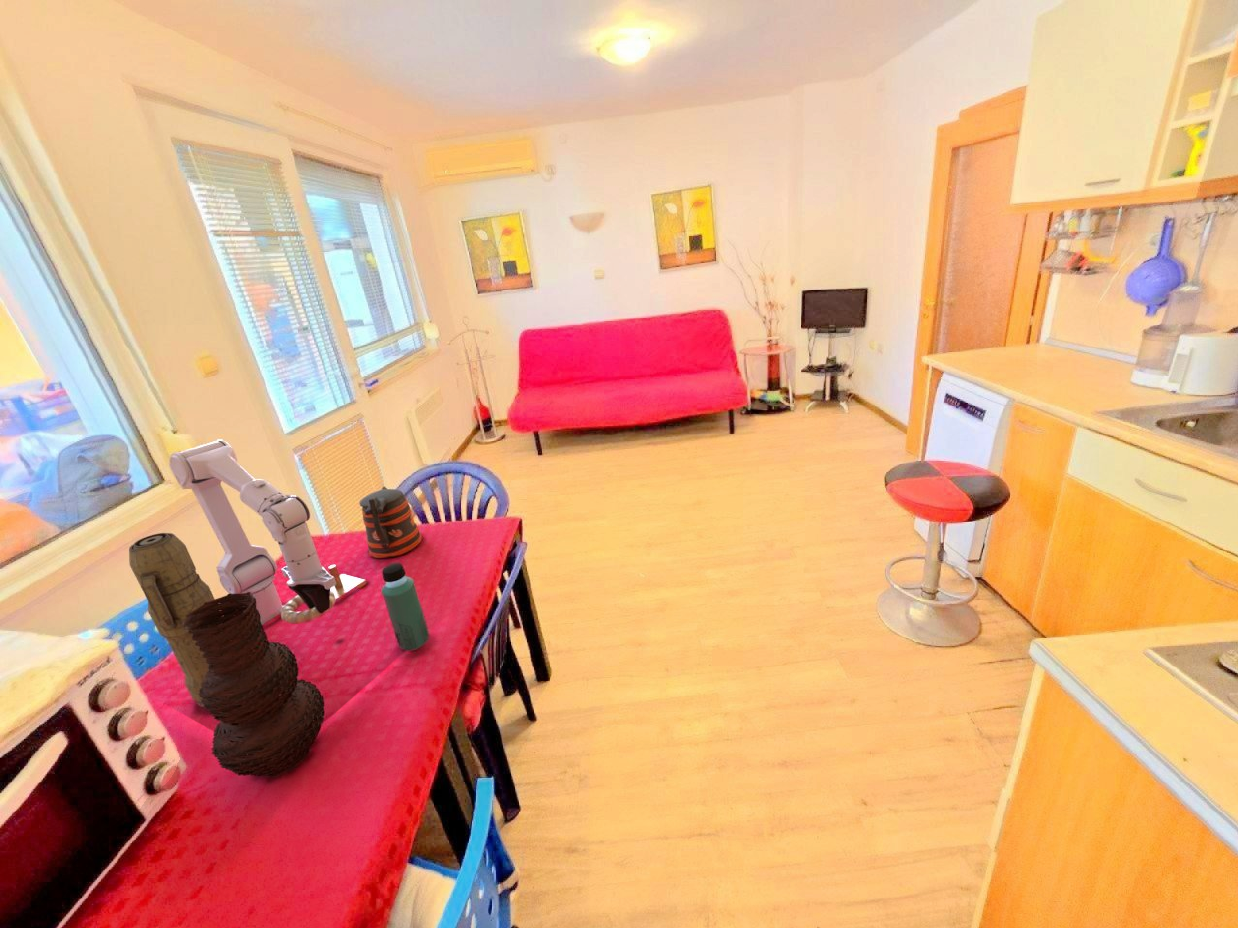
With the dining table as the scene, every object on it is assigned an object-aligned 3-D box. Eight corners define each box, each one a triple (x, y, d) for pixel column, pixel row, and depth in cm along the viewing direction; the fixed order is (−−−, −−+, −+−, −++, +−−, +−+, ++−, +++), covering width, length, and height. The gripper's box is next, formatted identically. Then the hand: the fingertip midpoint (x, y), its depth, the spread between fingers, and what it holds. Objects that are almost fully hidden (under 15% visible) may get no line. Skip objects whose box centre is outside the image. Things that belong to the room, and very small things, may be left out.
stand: (312, 596, 129) (304, 572, 126) (343, 577, 136) (336, 554, 134) (336, 603, 125) (327, 579, 122) (366, 583, 132) (359, 560, 130)
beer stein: (420, 559, 141) (403, 495, 134) (364, 572, 138) (343, 507, 130) (422, 529, 158) (407, 471, 151) (372, 540, 154) (354, 480, 147)
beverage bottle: (438, 639, 109) (417, 560, 102) (415, 660, 104) (390, 579, 96) (416, 632, 112) (393, 555, 105) (392, 653, 106) (367, 573, 99)
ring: (272, 619, 109) (268, 610, 108) (316, 591, 118) (313, 583, 117) (303, 630, 105) (299, 621, 104) (346, 601, 113) (343, 592, 112)
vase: (324, 781, 80) (259, 628, 69) (213, 814, 76) (126, 658, 65) (344, 707, 94) (293, 570, 83) (251, 732, 90) (185, 592, 79)
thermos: (258, 666, 106) (193, 519, 93) (245, 706, 96) (170, 547, 83) (208, 681, 103) (133, 531, 90) (188, 725, 93) (101, 563, 80)
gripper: (259, 558, 104) (281, 612, 109) (304, 571, 97) (325, 628, 102) (292, 541, 109) (311, 593, 114) (336, 552, 103) (355, 607, 108)
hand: (320, 608), depth 109 cm, fingers closed on ring, 2 cm apart
